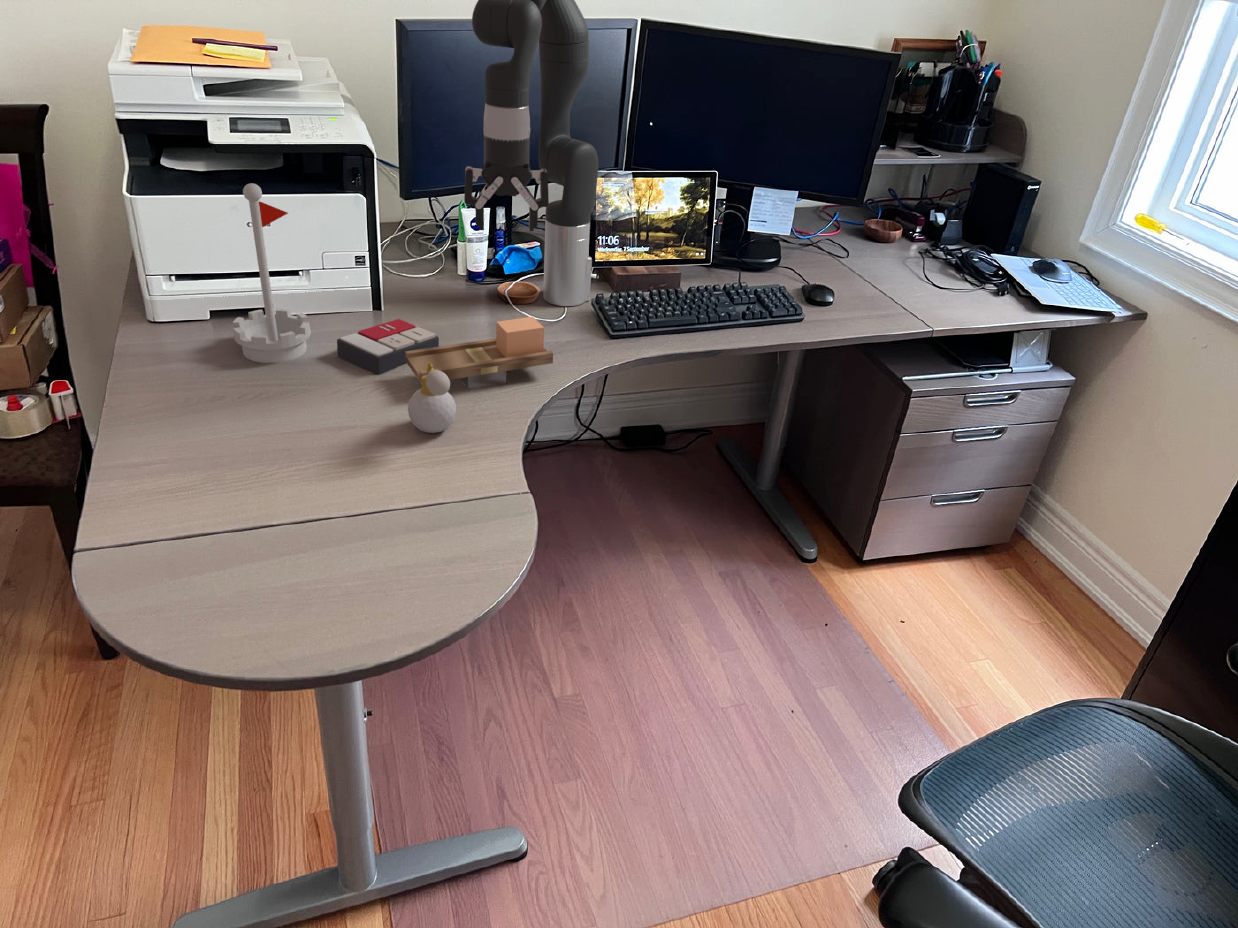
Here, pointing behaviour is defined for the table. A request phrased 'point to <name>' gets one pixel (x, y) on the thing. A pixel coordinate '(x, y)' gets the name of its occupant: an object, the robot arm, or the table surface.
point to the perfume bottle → (432, 403)
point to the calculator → (384, 345)
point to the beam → (472, 362)
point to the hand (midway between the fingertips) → (506, 229)
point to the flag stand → (268, 302)
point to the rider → (519, 336)
